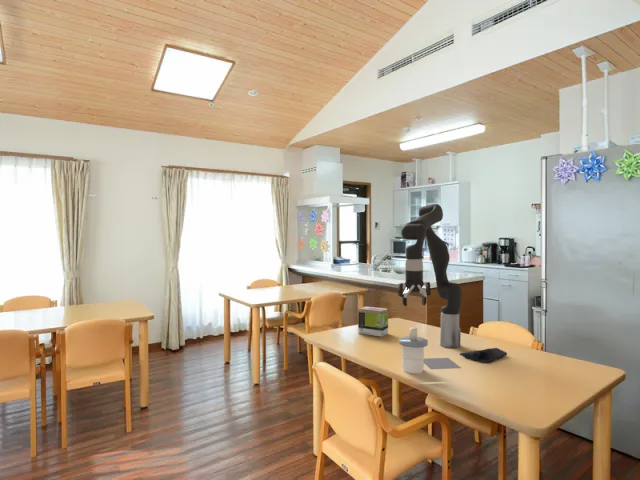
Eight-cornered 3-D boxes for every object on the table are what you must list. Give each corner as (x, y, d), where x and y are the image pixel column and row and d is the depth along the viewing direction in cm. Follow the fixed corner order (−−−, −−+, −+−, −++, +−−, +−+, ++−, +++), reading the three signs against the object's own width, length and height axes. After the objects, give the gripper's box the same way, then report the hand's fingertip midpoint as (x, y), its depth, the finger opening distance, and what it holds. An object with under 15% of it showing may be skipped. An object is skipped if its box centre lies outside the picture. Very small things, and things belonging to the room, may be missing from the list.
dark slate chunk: (513, 359, 194) (513, 349, 193) (481, 366, 183) (481, 355, 183) (485, 350, 207) (486, 341, 207) (455, 357, 196) (455, 347, 196)
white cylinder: (401, 373, 172) (401, 345, 172) (402, 366, 181) (402, 339, 180) (423, 375, 170) (423, 347, 169) (423, 368, 178) (423, 341, 178)
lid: (421, 339, 181) (421, 324, 181) (432, 347, 170) (432, 331, 169) (395, 340, 180) (395, 325, 180) (404, 347, 168) (404, 332, 168)
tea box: (388, 333, 238) (388, 308, 237) (381, 337, 229) (381, 311, 229) (365, 330, 246) (365, 305, 245) (357, 333, 237) (357, 308, 237)
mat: (448, 359, 192) (448, 357, 192) (461, 369, 178) (461, 367, 178) (419, 359, 190) (419, 358, 190) (430, 370, 176) (430, 368, 176)
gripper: (426, 267, 185) (426, 303, 185) (395, 268, 183) (396, 304, 183) (433, 269, 177) (433, 306, 178) (401, 270, 175) (401, 308, 176)
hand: (414, 305), depth 181 cm, fingers open, 8 cm apart
